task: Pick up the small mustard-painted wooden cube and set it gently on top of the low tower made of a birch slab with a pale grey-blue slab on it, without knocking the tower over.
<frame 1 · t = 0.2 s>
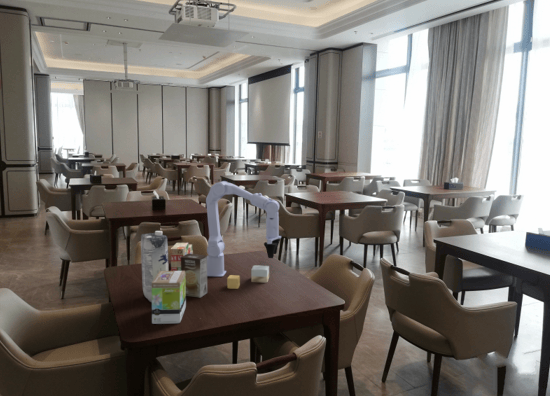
hand: (272, 255, 201), 10 cm above the table, tool pointing down, fingers open, 7 cm apart
coffee box: (194, 294, 179), on the table
tea box: (169, 316, 156), on the table
grey-blue slab: (260, 274, 197), point 3 cm above the table, touching birch slab
mustard cube: (233, 287, 188), on the table
red cream box: (182, 267, 218), on the table
juice carton: (156, 298, 174), on the table
birch slab: (260, 280, 198), on the table, touching grey-blue slab
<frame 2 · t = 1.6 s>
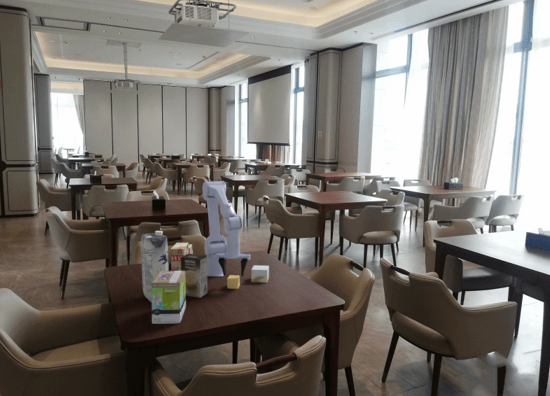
hand: (233, 275, 187), 5 cm above the table, tool pointing down, fingers open, 7 cm apart
nothing on the table moved.
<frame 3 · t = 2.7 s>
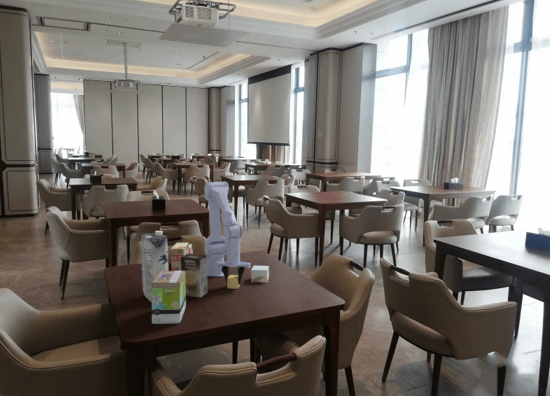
hand: (233, 283, 188), 1 cm above the table, tool pointing down, fingers closed on mustard cube, 4 cm apart
mustard cube: (233, 286, 188), on the table, touching gripper
everything else where it was.
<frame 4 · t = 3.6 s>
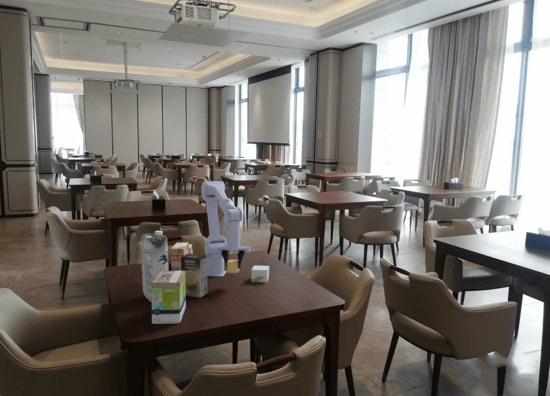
hand: (233, 267, 187), 8 cm above the table, tool pointing down, fingers closed on mustard cube, 4 cm apart
mustard cube: (233, 271, 187), point 7 cm above the table, touching gripper
everything else where it was.
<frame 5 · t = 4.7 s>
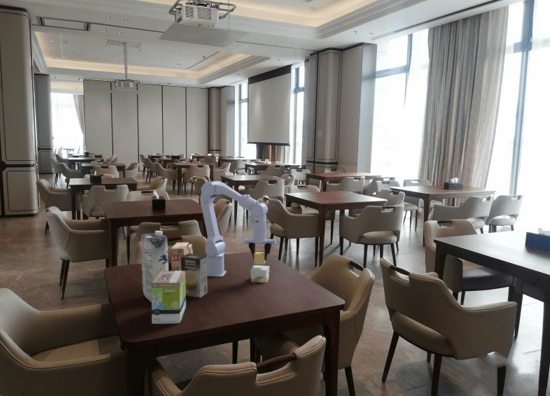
hand: (259, 259, 196), 9 cm above the table, tool pointing down, fingers closed on mustard cube, 4 cm apart
mustard cube: (259, 262, 196), point 8 cm above the table, touching gripper
everything else where it was.
when the fingers open (8 cm above the table, at t = 5.5 s): mustard cube stays where it is, point 6 cm above the table.
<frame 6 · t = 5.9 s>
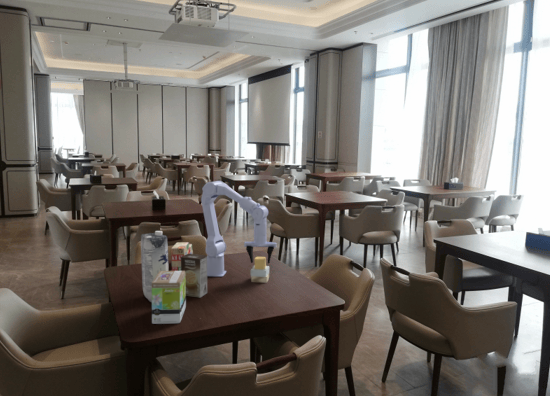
hand: (260, 262, 197), 8 cm above the table, tool pointing down, fingers open, 7 cm apart
mustard cube: (260, 267, 197), point 6 cm above the table
everything else where it was.
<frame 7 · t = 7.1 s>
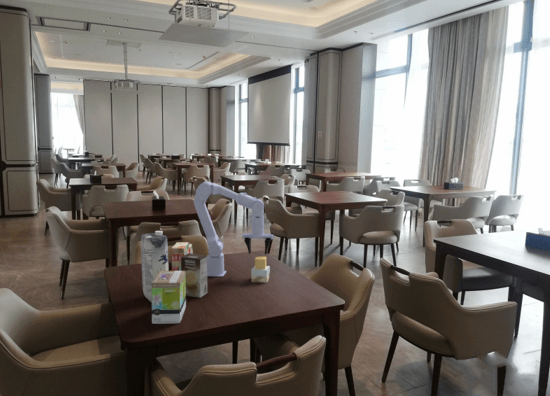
hand: (257, 253, 205), 10 cm above the table, tool pointing down, fingers open, 7 cm apart
grey-blue slab: (260, 274, 197), point 3 cm above the table
birch slab: (260, 280, 198), on the table
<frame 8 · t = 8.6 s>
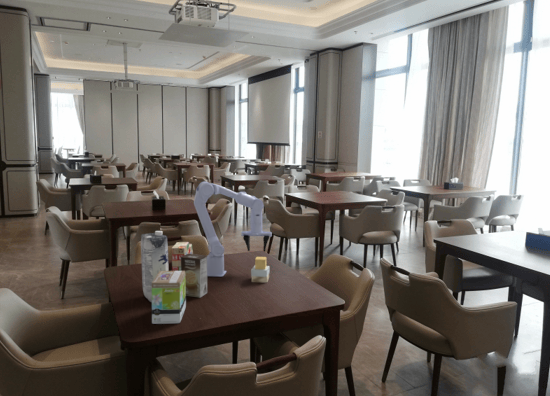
hand: (256, 250, 211), 10 cm above the table, tool pointing down, fingers open, 7 cm apart
grey-blue slab: (260, 274, 197), point 3 cm above the table, touching birch slab, mustard cube
mustard cube: (260, 267, 197), point 6 cm above the table, touching grey-blue slab
birch slab: (260, 280, 197), on the table, touching grey-blue slab
at the end: mustard cube 0.2 cm off-centre on the grey-blue slab, point 3.0 cm above the grey-blue slab's base; grey-blue slab 0.1 cm off-centre on the birch slab, point 3.0 cm above the birch slab's base; birch slab moved 0.4 cm from its start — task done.
